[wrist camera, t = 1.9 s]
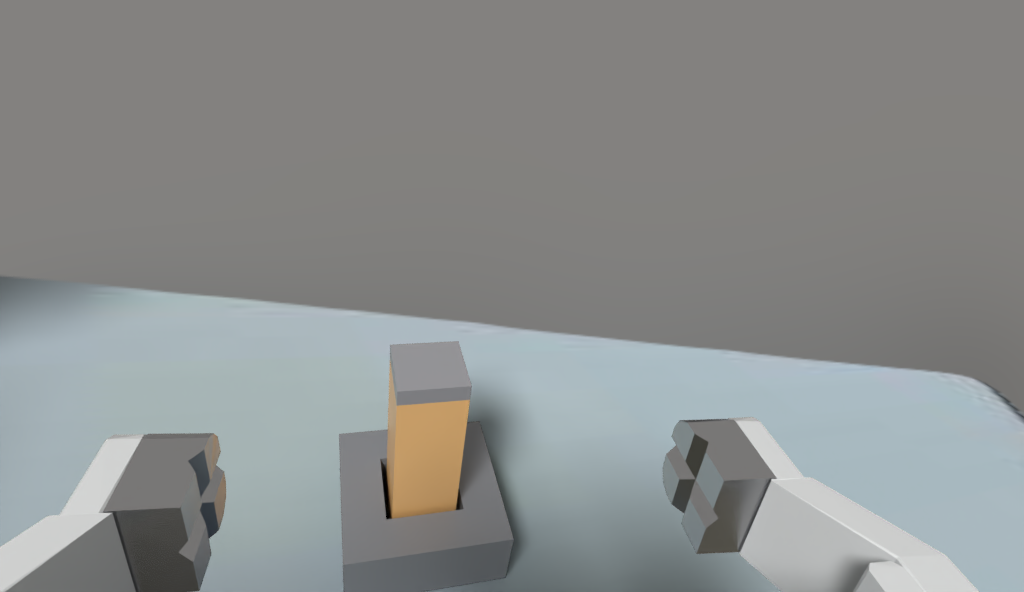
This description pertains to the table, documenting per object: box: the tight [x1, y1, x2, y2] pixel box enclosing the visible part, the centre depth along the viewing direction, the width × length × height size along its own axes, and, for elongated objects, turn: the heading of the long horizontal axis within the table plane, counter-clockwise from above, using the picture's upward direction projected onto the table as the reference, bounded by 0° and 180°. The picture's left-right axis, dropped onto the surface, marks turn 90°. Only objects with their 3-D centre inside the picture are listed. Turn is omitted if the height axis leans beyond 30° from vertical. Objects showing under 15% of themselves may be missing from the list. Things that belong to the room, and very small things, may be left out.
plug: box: [386, 341, 472, 519], centre depth 37 cm, size 4×4×14 cm
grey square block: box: [339, 421, 514, 592], centre depth 40 cm, size 10×10×4 cm
